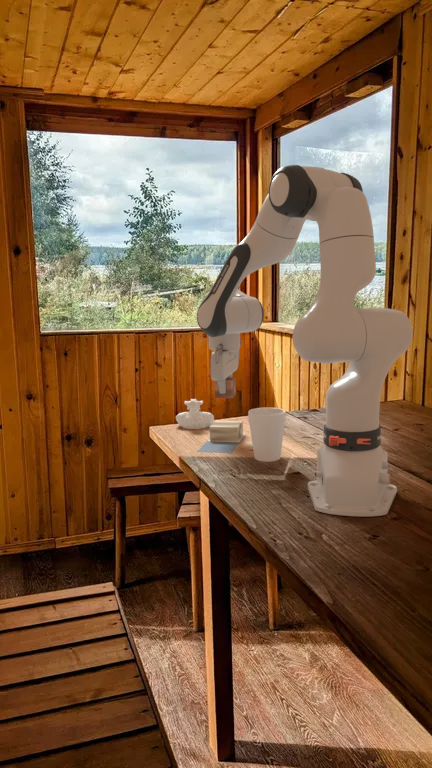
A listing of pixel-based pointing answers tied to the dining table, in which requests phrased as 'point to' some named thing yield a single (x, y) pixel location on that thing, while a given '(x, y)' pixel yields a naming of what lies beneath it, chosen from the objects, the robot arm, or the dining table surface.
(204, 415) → the white figurine
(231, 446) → the board
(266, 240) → the robot arm
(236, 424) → the birch slab
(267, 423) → the foam cup
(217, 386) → the terracotta block
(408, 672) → the dining table surface
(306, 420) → the dining table surface
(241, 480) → the dining table surface
